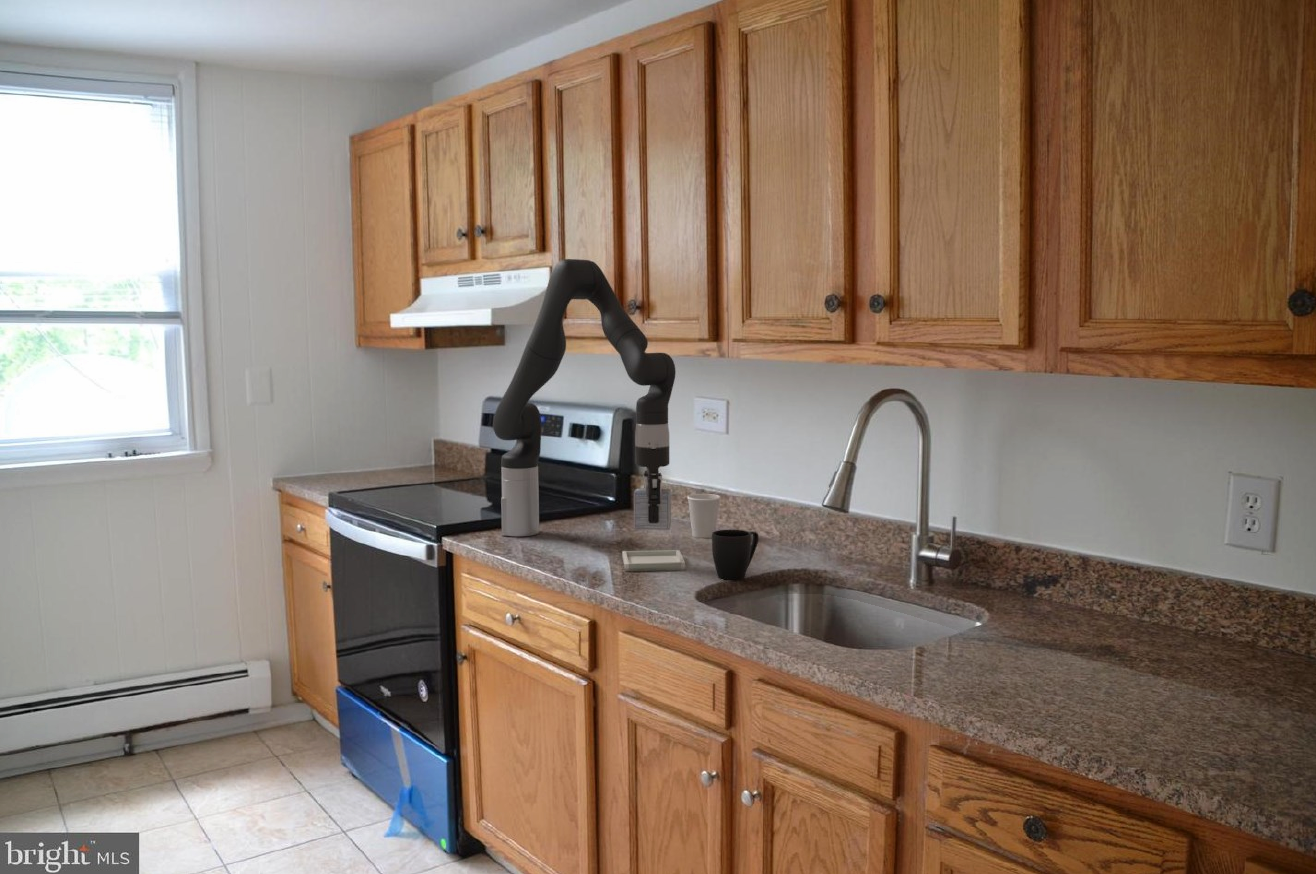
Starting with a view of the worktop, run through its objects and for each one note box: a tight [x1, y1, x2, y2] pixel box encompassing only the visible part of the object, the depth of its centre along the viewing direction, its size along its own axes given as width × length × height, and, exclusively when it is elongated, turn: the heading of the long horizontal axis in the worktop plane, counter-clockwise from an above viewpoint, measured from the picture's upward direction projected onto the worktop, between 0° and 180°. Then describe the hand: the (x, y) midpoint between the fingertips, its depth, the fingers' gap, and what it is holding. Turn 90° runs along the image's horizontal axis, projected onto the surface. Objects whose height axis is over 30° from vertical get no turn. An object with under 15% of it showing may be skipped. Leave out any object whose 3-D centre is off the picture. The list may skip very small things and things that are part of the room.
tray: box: [621, 549, 686, 572], centre depth 236 cm, size 13×13×2 cm
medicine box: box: [633, 488, 672, 531], centre depth 235 cm, size 8×4×9 cm, turn 84°
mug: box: [711, 529, 759, 582], centre depth 224 cm, size 8×12×10 cm
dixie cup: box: [687, 493, 722, 539], centre depth 266 cm, size 8×8×10 cm
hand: (652, 520), depth 235 cm, fingers closed on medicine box, 5 cm apart
